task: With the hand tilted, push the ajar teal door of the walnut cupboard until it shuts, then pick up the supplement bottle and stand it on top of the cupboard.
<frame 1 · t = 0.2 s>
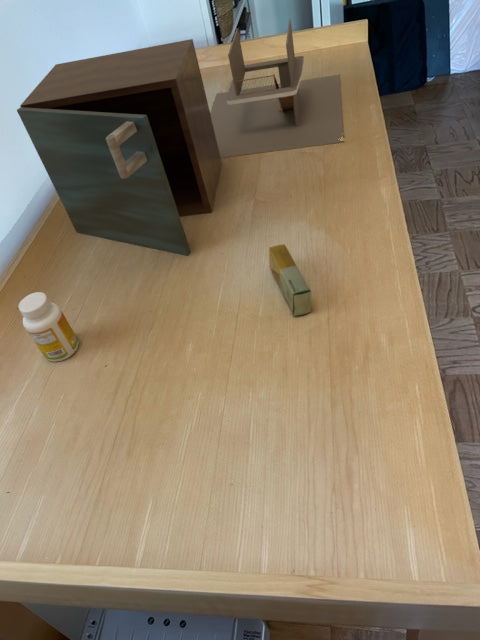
door: (95, 191, 87), point 12 cm above the table, hinge at 25.0°
medication box: (291, 290, 79), on the table
supplement bottle: (62, 349, 80), on the table
cupboard: (153, 195, 107), on the table
desk organizer: (272, 115, 123), on the table
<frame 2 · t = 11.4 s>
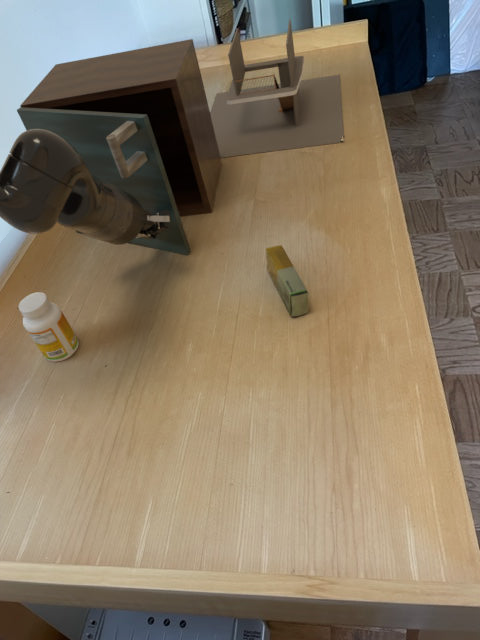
hand: (151, 232, 89), 4 cm above the table, tool tilted 45°, fingers closed
door: (96, 191, 87), point 12 cm above the table, hinge at 24.7°, touching gripper
everything else where it was.
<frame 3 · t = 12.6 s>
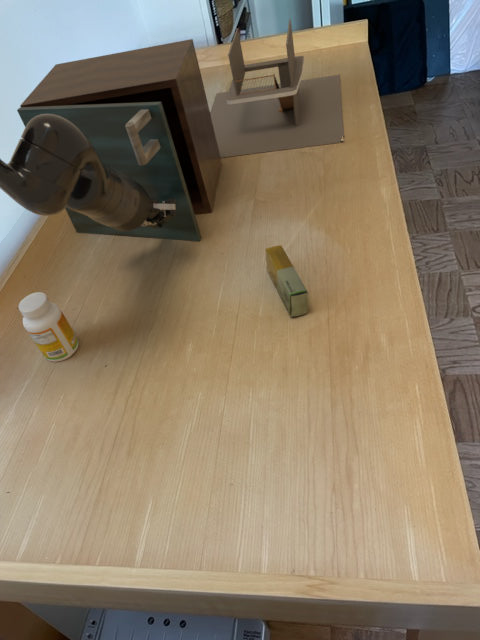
hand: (157, 222, 91), 4 cm above the table, tool tilted 45°, fingers closed
door: (105, 184, 88), point 12 cm above the table, hinge at 16.1°, touching gripper
everything else where it was.
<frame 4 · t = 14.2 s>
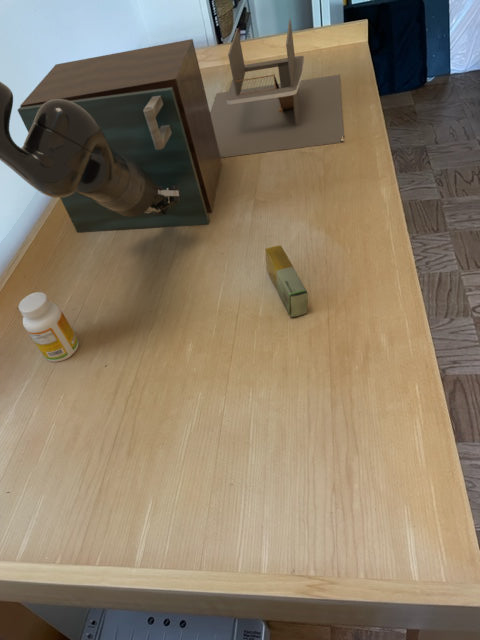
hand: (161, 209, 94), 4 cm above the table, tool tilted 45°, fingers closed
door: (113, 176, 89), point 12 cm above the table, hinge at 5.4°, touching gripper
everything else where it was.
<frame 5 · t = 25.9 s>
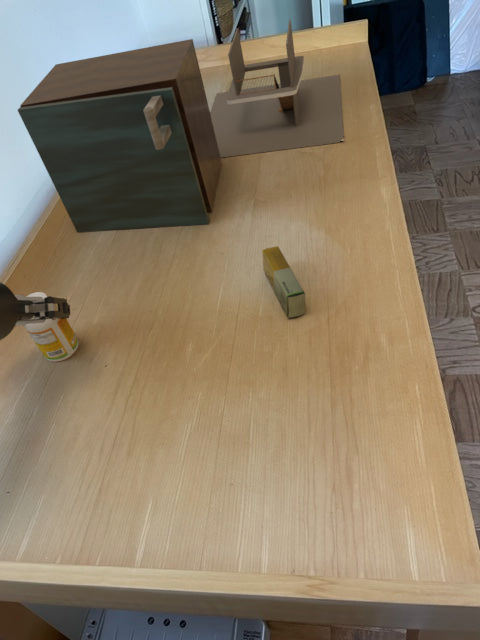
hand: (47, 312, 76), 6 cm above the table, tool tilted 45°, fingers closed on supplement bottle, 5 cm apart
door: (113, 176, 89), point 12 cm above the table, hinge at 5.4°
supplement bottle: (62, 349, 80), on the table, touching gripper
everything else where it was.
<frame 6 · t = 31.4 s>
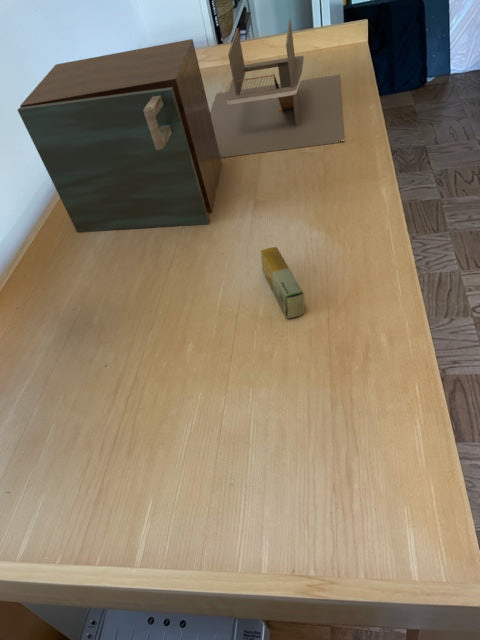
when the fingers open (31 cm above the table, at t = 37.3 s): supplement bottle stays where it is, resting on cupboard.
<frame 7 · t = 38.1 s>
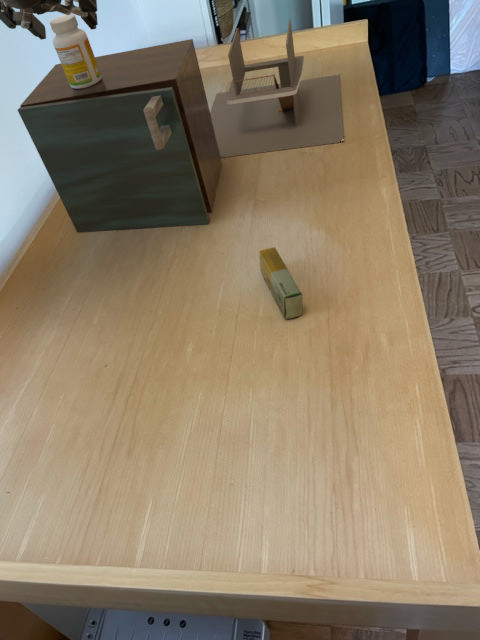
hand: (68, 28, 83), 32 cm above the table, tool tilted 45°, fingers open, 8 cm apart
supplement bottle: (87, 83, 88), point 24 cm above the table, touching cupboard
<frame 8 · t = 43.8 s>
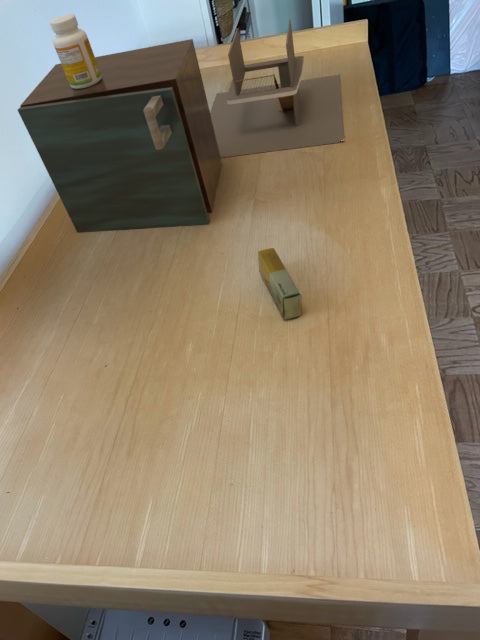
at the end: door at +5° (first picture: +25°); supplement bottle inside the target area on the cupboard (1.7 cm from its centre), point 24.2 cm above the cupboard's base; supplement bottle tilted 0° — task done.
